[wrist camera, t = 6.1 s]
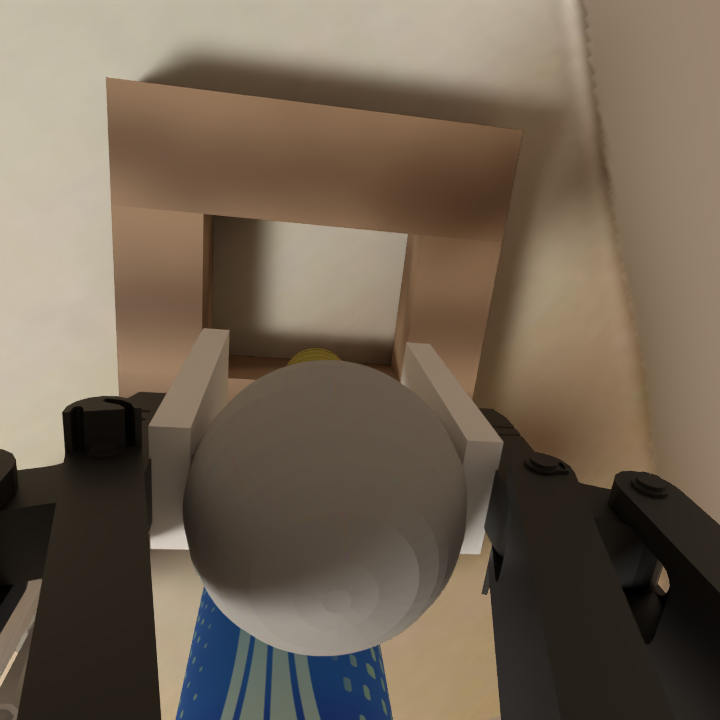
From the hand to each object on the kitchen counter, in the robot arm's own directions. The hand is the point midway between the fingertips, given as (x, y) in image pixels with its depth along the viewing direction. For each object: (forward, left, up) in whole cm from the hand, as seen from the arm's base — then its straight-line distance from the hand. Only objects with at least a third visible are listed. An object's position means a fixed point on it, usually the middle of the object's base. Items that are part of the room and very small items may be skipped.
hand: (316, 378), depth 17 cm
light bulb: (0, 0, -1) cm, 1 cm away
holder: (0, 0, -10) cm, 10 cm away
